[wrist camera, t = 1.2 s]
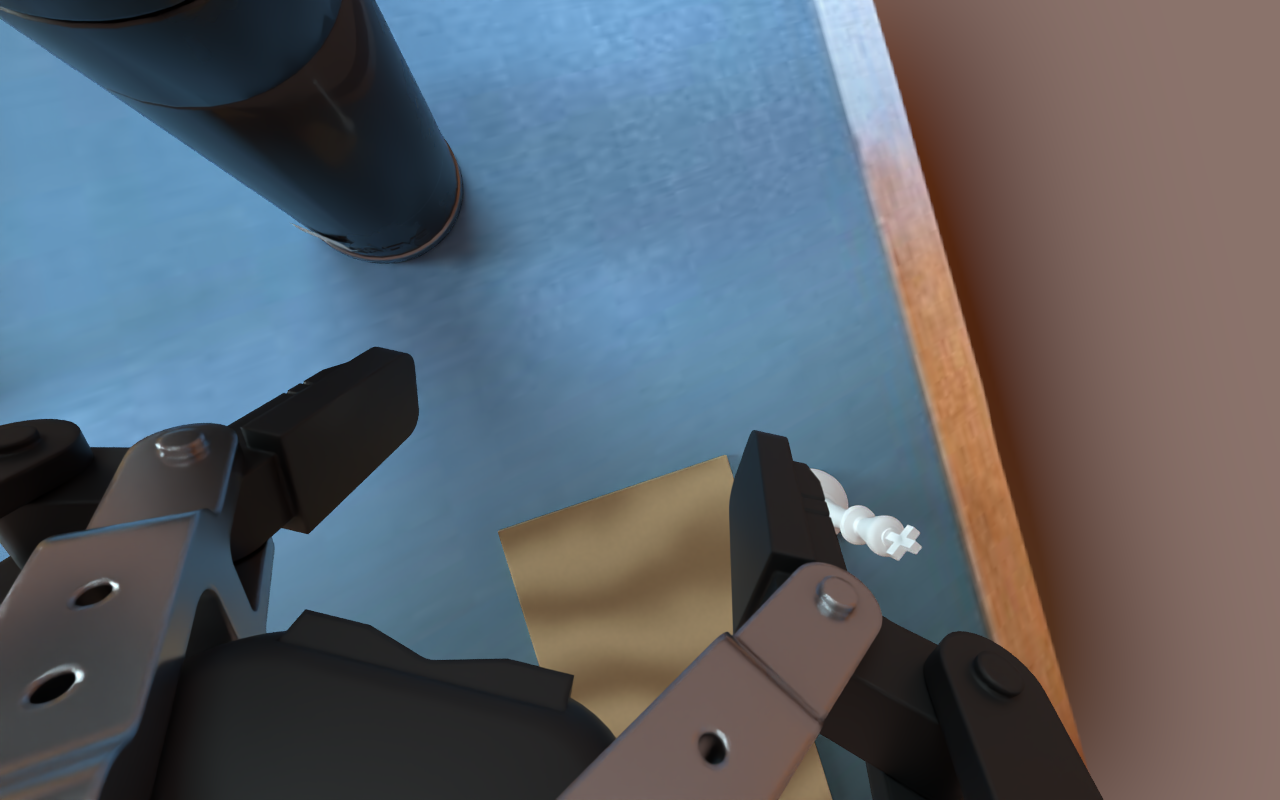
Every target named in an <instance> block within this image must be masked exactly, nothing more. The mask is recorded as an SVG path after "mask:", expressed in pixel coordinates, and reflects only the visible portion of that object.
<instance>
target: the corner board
mask: <svg viewBox="0 0 1280 800" xmlns="http://www.w3.org/2000/svg"><path fill="white" fill-rule="evenodd" d="M733 482H734V478H733V475H732V471H731V468H730V465H729V462H728V458H727V456H726V455H723V456H720V457H717V458H714V459H711V460H708V461H705V462H702V463H699V464H696V465H693V466H690V467H687V468H684V469H681V470H678V471H675V472H672V473H669V474H666V475H663V476H660V477H657V478H654V479H651V480H648V481H645V482H642V483H639V484H636V485H633V486H630V487H627V488H624V489H621V490H618V491H615V492H612V493H609V494H606V495H603V496H600V497H597V498H594V499H591V500H588V501H585V502H582V503H579V504H576V505H573V506H570V507H567V508H564V509H561V510H558V511H555V512H552V513H549V514H546V515H543V516H540V517H537V518H534V519H531V520H528V521H525V522H522V523H519V524H516V525H513V526H510V527H507V528H504V529H501V530H499V531H498V534H499V537H500V540H501V544H502V547H503V550H504V553H505V556H506V560H507V563H508V566H509V569H510V572H511V576H512V579H513V582H514V585H515V589H516V592H517V595H518V598H519V601H520V605H521V608H522V611H523V614H524V618H525V621H526V624H527V627H528V630H529V634H530V637H531V640H532V643H533V647H534V650H535V653H536V656H537V659H538V663H539V666H540V667H543V668H547V669H551V670H555V671H560V672H564V673H568V674H572V675H574V680H573V686H572V692H571V698H572V699H574V700H576V701H577V702H579V703H581V704H582V705H584V706H585V707H586V708H588V709H589V710H590V711H591V712H593V713H594V714H595V715H596V716H597V717H598V718H599V719H600V720H601V721H602V722H603V723H604V724H605V725H606V726H607V727H608V728H609V729H610V730H611V732H612V733H613V734H614V736H615V737H616V738H617V737H618V736H619V735H620V734H621V733H622V732H623V731H624V730H625V729H626V728H627V727H628V726H629V725H630V724H631V723H632V722H633V721H634V720H635V719H636V718H637V717H638V716H639V715H640V714H641V713H642V712H643V711H644V710H645V709H646V708H647V707H648V706H649V705H650V704H651V703H652V702H653V701H654V700H655V699H656V698H657V697H658V696H659V695H660V694H661V693H662V692H663V691H664V690H665V689H666V688H667V687H668V686H669V685H670V684H671V683H672V682H673V681H674V680H675V679H676V678H677V677H678V676H679V675H680V674H681V673H682V672H683V671H684V670H685V669H686V668H687V667H688V666H689V665H690V664H691V663H692V662H693V661H694V660H695V659H696V658H697V657H698V656H699V655H700V654H701V653H702V652H703V651H704V650H705V649H706V648H707V647H708V646H709V645H710V644H711V643H712V642H713V641H714V640H715V639H716V638H717V637H719V636H720V635H721V634H723V633H724V632H729V633H730V634H731V635H733V620H732V590H731V559H730V529H729V500H730V494H731V489H732V485H733ZM779 800H832V797H831V793H830V790H829V787H828V784H827V780H826V777H825V774H824V771H823V767H822V764H821V761H820V758H819V754H818V751H817V748H816V745H815V741H814V742H813V744H812V746H811V747H810V749H809V751H808V752H807V754H806V756H805V757H804V759H803V760H802V762H801V764H800V765H799V767H798V769H797V770H796V772H795V774H794V775H793V777H792V778H791V780H790V782H789V783H788V785H787V787H786V788H785V790H784V791H783V793H782V795H781V796H780V798H779Z"/></svg>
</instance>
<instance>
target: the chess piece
mask: <svg viewBox="0 0 1280 800" xmlns="http://www.w3.org/2000/svg"><path fill="white" fill-rule="evenodd" d="M811 471H812V472H813V473H814V474H815V475H816V477H817V478H818V479H819V480H820V482H821V486H822V489H823V492H824V496H825V502H827V506H828V509H829V512H830V515H829V517H831V519H832V522H833V526H834V529H835V532H836V535H837V534H838V533H839V532H840V530H841V533H842V535H843V537H844V538H845V539H846V540H847V541H848V542H850V543H852V544H855V545H862V544H866V543H867V545H868V546H869V548H870V549H871V550H872V551H873V552H875V553H876V554H878V555H880V556H885V557H889V556H891V557H892V558H893V559H895V560H898V561H899V560H900V559H901V557H902V556H903V555H904V553H905V552H906V551H909V552H911V553H914V554H917V553H918V552H919V550H920V549H921V548H922V547H921V546H920V545H919V544H918V543H917V542H916V541H915V539H916V538H917V537H918V536H919V534H920V532H919V531H918V530H917V529H916V528H914V527H912V526H909V525H907V526H906V528H905V529H904V527H903V525H902V524H901V523H900V521H898V520H897V519H896V518H894V517H891V516H877V517H876V516H875V515H874V513H873V512H872V511H871V510H870V509H868V508H867V507H864V506H861V505H856V506H852V507H850V508H848V500H847V496H846V493H845V491H844V489H843V487H842V485H841V484H840V483H839V482H838V481H837V480H836V479H835V478H834V477H832V476H831V475H829V474H827V473H825V472H823V471H821V470H818V469H811Z"/></svg>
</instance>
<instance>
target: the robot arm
mask: <svg viewBox="0 0 1280 800" xmlns="http://www.w3.org/2000/svg"><path fill="white" fill-rule="evenodd" d="M0 19H1V20H3V21H4V22H6V23H7V24H9V25H10V26H12V27H13V28H14V29H16V30H17V31H19V32H20V33H22V34H23V35H25V36H26V37H28V38H29V39H31V40H32V41H34V42H35V43H36V44H38V45H39V46H41V47H42V48H44V49H45V50H47V51H48V52H50V53H51V54H53V55H54V56H56V57H57V58H59V59H60V60H61V61H63V62H64V63H66V64H67V65H69V66H70V67H72V68H73V69H75V70H76V71H78V72H80V73H81V74H83V75H84V76H86V77H87V78H89V79H90V80H92V81H93V82H94V83H96V84H97V85H99V86H100V87H102V88H103V89H105V90H106V91H108V92H109V93H111V94H112V95H114V96H115V97H116V98H118V99H119V100H121V101H122V102H124V103H125V104H127V105H128V106H130V107H131V108H133V109H134V110H136V111H137V112H138V113H140V114H141V115H143V116H144V117H146V118H147V119H149V120H150V121H152V122H153V123H155V124H156V125H157V126H159V127H160V128H162V129H163V130H165V131H166V132H168V133H169V134H171V135H172V136H174V137H175V138H177V139H178V140H179V141H181V142H182V143H184V144H185V145H187V146H188V147H190V148H191V149H193V150H194V151H196V152H197V153H199V154H200V155H201V156H203V157H204V158H206V159H207V160H209V161H210V162H212V163H213V164H215V165H216V166H218V167H219V168H221V169H222V170H223V171H225V172H226V173H228V174H229V175H231V176H232V177H234V178H235V179H237V180H238V181H240V182H241V183H243V184H244V185H245V186H247V187H248V188H250V189H251V190H253V191H254V192H256V193H257V194H259V195H260V196H262V197H263V198H264V199H266V200H267V201H269V202H270V203H272V204H273V205H275V206H276V207H278V208H279V209H281V210H282V211H284V212H285V213H286V214H288V215H289V216H291V217H292V218H294V219H295V220H297V221H298V222H300V223H301V224H302V225H304V226H305V227H307V228H308V229H310V230H311V231H313V232H311V231H309V230H307V229H304V228H302V227H299V226H297V225H295V224H293V225H294V226H296V227H297V228H299V229H300V230H302V231H304V232H307V233H309V234H311V235H314V236H316V237H319V238H320V239H322V240H323V241H324V242H326V243H327V244H329V245H330V246H331V247H333V248H334V249H336V250H338V251H339V252H341V253H343V254H345V255H347V256H350V257H352V258H355V259H358V260H362V261H366V262H372V263H395V262H401V261H406V260H409V259H412V258H415V257H417V256H420V255H422V254H424V253H426V252H427V251H429V250H430V249H432V248H433V247H435V246H436V245H437V244H438V243H439V242H440V241H441V240H442V239H443V238H444V237H445V236H446V235H447V234H448V232H449V231H450V230H451V228H452V227H453V225H454V223H455V221H456V219H457V217H458V214H459V211H460V208H461V203H462V196H463V183H462V176H461V172H460V168H459V166H458V163H457V160H456V158H455V156H454V154H453V152H452V150H451V148H450V146H449V145H448V143H447V142H446V140H445V139H444V138H443V136H442V134H441V132H440V130H439V128H438V126H437V124H436V121H435V119H434V117H433V115H432V113H431V111H430V109H429V107H428V105H427V103H426V101H425V99H424V97H423V95H422V93H421V91H420V89H419V87H418V85H417V83H416V81H415V79H414V77H413V75H412V73H411V71H410V69H409V67H408V65H407V63H406V61H405V59H404V57H403V55H402V53H401V51H400V49H399V47H398V45H397V43H396V41H395V39H394V37H393V35H392V33H391V31H390V29H389V27H388V25H387V23H386V21H385V19H384V17H383V15H382V13H381V11H380V9H379V7H378V5H377V3H376V1H375V0H0ZM291 224H292V223H291ZM418 416H419V406H418V395H417V385H416V374H415V364H414V360H413V358H412V356H411V355H410V354H408V353H403V352H399V351H394V350H390V349H385V348H380V347H373V348H370V349H369V350H367V351H365V352H364V353H362V354H360V355H359V356H357V357H356V358H354V359H352V360H351V361H349V362H346V363H343V364H340V365H337V366H334V367H330V368H327V369H324V370H322V371H320V372H318V373H317V374H315V375H313V376H312V377H310V378H308V379H307V380H305V381H304V383H303V384H298V385H296V386H295V387H293V388H291V389H289V390H288V392H287V394H286V393H283V394H281V395H279V396H278V397H276V398H274V399H272V400H271V401H269V402H267V403H266V404H264V405H262V406H261V407H259V408H257V409H255V410H254V411H252V412H250V413H249V414H247V415H245V416H244V417H242V418H240V419H238V420H237V421H235V422H233V423H232V424H230V425H228V426H225V425H221V424H214V423H197V424H188V425H182V426H177V427H173V428H169V429H165V430H162V431H160V432H157V433H154V434H152V435H150V436H147V437H146V438H144V439H142V440H140V441H139V442H137V443H136V444H134V445H133V446H132V447H131V448H121V447H90V446H89V445H88V443H87V441H86V439H85V437H84V435H83V434H82V432H81V430H80V428H79V427H78V426H77V425H76V424H74V423H72V422H69V421H65V420H58V419H37V420H27V421H21V422H14V423H10V424H5V425H1V426H0V543H1V544H2V546H3V547H4V548H5V550H6V551H7V552H8V554H9V555H10V557H8V558H6V559H5V560H3V561H2V562H0V800H779V798H780V796H781V795H782V793H783V791H784V790H785V788H786V787H787V785H788V783H789V782H790V780H791V778H792V777H793V775H794V774H795V772H796V770H797V769H798V767H799V765H800V764H801V762H802V760H803V759H804V757H805V756H806V754H807V752H808V751H809V749H810V747H811V746H812V744H813V742H814V741H815V739H816V738H817V736H818V734H819V733H820V734H821V735H823V736H825V737H826V738H828V739H830V740H831V741H833V742H835V743H836V744H838V745H840V746H841V747H843V748H845V749H846V750H848V751H849V752H851V753H853V754H854V755H856V756H858V757H859V758H861V759H863V760H864V761H866V767H867V772H868V777H869V783H870V788H871V793H872V798H873V800H1103V798H1102V796H1101V794H1100V792H1099V791H1098V789H1097V787H1096V785H1095V783H1094V781H1093V779H1092V778H1091V776H1090V774H1089V772H1088V770H1087V768H1086V767H1085V765H1084V763H1083V761H1082V759H1081V757H1080V755H1079V754H1078V752H1077V750H1076V748H1075V746H1074V744H1073V742H1072V741H1071V739H1070V737H1069V735H1068V733H1067V731H1066V730H1065V728H1064V726H1063V724H1062V722H1061V720H1060V718H1059V717H1058V715H1057V713H1056V711H1055V709H1054V707H1053V706H1052V704H1051V702H1050V700H1049V698H1048V696H1047V694H1046V693H1045V691H1044V689H1043V688H1042V686H1041V684H1040V683H1039V682H1038V680H1037V679H1036V678H1035V676H1034V675H1033V674H1032V673H1031V672H1030V671H1029V670H1028V668H1027V667H1026V666H1025V665H1024V664H1022V663H1021V662H1020V661H1019V660H1018V659H1017V658H1016V657H1015V656H1013V655H1012V654H1011V653H1010V652H1008V651H1007V650H1006V649H1004V648H1003V647H1001V646H1000V645H998V644H996V643H994V642H993V641H991V640H989V639H987V638H985V637H982V636H980V635H977V634H974V633H969V632H961V631H958V632H952V633H950V634H948V635H947V636H946V637H944V638H943V640H942V641H941V642H940V643H939V644H938V645H937V644H935V643H933V642H931V641H929V640H927V639H925V638H923V637H921V636H919V635H917V634H915V633H913V632H911V631H909V630H907V629H905V628H903V627H901V626H899V625H897V624H895V623H893V622H891V621H890V620H888V619H886V618H885V617H884V616H882V613H881V610H880V606H879V604H878V602H877V600H876V599H875V597H874V596H873V594H872V593H871V592H870V590H869V589H868V588H867V587H866V586H865V585H864V584H863V583H862V582H861V581H860V580H859V579H857V578H856V577H855V576H853V575H852V574H850V573H849V572H847V569H846V565H845V562H844V559H843V555H842V552H841V549H840V545H839V542H838V539H837V536H836V532H835V529H834V526H833V522H832V519H831V517H829V515H830V512H829V509H828V506H827V502H825V496H824V492H823V489H822V486H821V482H820V480H819V479H818V478H817V477H816V475H815V474H814V473H813V472H812V471H811V469H810V468H809V467H808V466H807V464H804V463H799V462H795V461H793V459H792V455H791V450H790V446H789V442H788V439H787V437H784V436H779V435H775V434H770V433H765V432H761V431H756V430H753V431H752V432H751V434H750V436H749V439H748V441H747V444H746V447H745V450H744V453H743V456H742V459H741V462H740V464H739V467H738V470H737V473H736V476H735V479H734V482H733V485H732V489H731V494H730V500H729V529H730V559H731V590H732V620H733V635H731V634H730V633H729V632H724V633H723V634H721V635H720V636H719V637H717V638H716V639H715V640H714V641H713V642H712V643H711V644H710V645H709V646H708V647H707V648H706V649H705V650H704V651H703V652H702V653H701V654H700V655H699V656H698V657H697V658H696V659H695V660H694V661H693V662H692V663H691V664H690V665H689V666H688V667H687V668H686V669H685V670H684V671H683V672H682V673H681V674H680V675H679V676H678V677H677V678H676V679H675V680H674V681H673V682H672V683H671V684H670V685H669V686H668V687H667V688H666V689H665V690H664V691H663V692H662V693H661V694H660V695H659V696H658V697H657V698H656V699H655V700H654V701H653V702H652V703H651V704H650V705H649V706H648V707H647V708H646V709H645V710H644V711H643V712H642V713H641V714H640V715H639V716H638V717H637V718H636V719H635V720H634V721H633V722H632V723H631V724H630V725H629V726H628V727H627V728H626V729H625V730H624V731H623V732H622V733H621V734H620V735H619V736H618V737H617V738H616V737H615V736H614V734H613V733H612V732H611V730H610V729H609V728H608V727H607V726H606V725H605V724H604V723H603V722H602V721H601V720H600V719H599V718H598V717H597V716H596V715H595V714H594V713H593V712H591V711H590V710H589V709H588V708H586V707H585V706H584V705H582V704H581V703H579V702H577V701H576V700H574V699H572V698H571V692H572V686H573V680H574V675H572V674H568V673H564V672H560V671H555V670H551V669H547V668H543V667H539V666H535V665H531V664H527V663H523V662H519V661H515V660H511V659H467V660H430V659H426V658H424V657H422V656H420V655H418V654H417V653H415V652H414V651H412V650H410V649H409V648H407V647H405V646H404V645H402V644H400V643H399V642H397V641H395V640H394V639H392V638H391V637H389V636H387V635H386V634H384V633H382V632H381V631H379V630H377V629H376V628H374V627H372V626H371V625H368V624H363V623H359V622H355V621H351V620H347V619H343V618H339V617H335V616H331V615H327V614H323V613H318V612H314V611H310V610H306V609H305V611H304V612H303V613H302V614H301V615H300V616H299V617H298V619H297V620H296V621H295V622H294V623H293V624H292V625H291V627H290V628H289V629H288V630H287V631H281V632H273V633H266V622H267V613H268V604H269V595H270V586H271V577H272V568H273V559H274V550H275V547H274V542H273V539H272V536H273V535H274V534H275V533H276V532H277V531H278V530H279V529H281V528H284V529H288V530H292V531H297V532H301V533H305V534H309V533H310V532H311V531H312V530H313V529H314V528H315V527H316V526H317V525H318V524H319V523H320V522H321V521H323V520H324V519H325V518H326V517H327V516H328V515H329V514H330V513H331V512H332V511H333V510H334V509H335V508H336V507H337V506H338V505H339V504H340V503H341V502H342V501H343V500H344V499H345V498H346V497H347V496H348V495H349V494H350V493H351V492H352V491H353V490H355V489H356V488H357V487H358V486H359V485H360V484H361V483H362V482H363V481H364V480H365V479H366V478H367V477H368V476H369V475H370V474H371V473H372V472H373V471H374V470H375V469H376V468H377V467H378V466H379V465H380V464H381V463H382V462H383V461H384V460H385V459H386V458H388V457H389V456H390V455H391V454H392V453H393V452H394V451H395V450H396V449H397V448H398V447H399V446H400V445H401V444H402V443H403V442H404V441H405V440H406V439H407V438H408V437H409V436H410V435H411V434H412V432H413V431H414V429H415V427H416V424H417V421H418Z"/></svg>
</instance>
